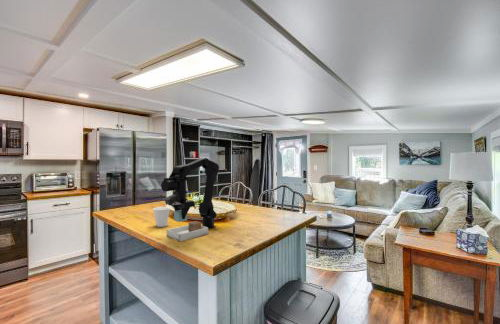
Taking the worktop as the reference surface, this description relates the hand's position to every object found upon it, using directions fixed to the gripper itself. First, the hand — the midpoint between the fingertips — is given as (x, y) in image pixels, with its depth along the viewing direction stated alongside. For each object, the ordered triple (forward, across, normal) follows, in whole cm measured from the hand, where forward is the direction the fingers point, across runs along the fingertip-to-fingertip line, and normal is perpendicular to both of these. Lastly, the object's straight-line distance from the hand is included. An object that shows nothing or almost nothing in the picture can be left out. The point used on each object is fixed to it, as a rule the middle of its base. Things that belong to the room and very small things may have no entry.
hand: (180, 218), depth 135 cm
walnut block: (+9, 0, +9) cm, 13 cm away
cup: (+10, -28, +3) cm, 30 cm away
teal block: (+1, 0, 0) cm, 1 cm away
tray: (+10, 0, +4) cm, 11 cm away
